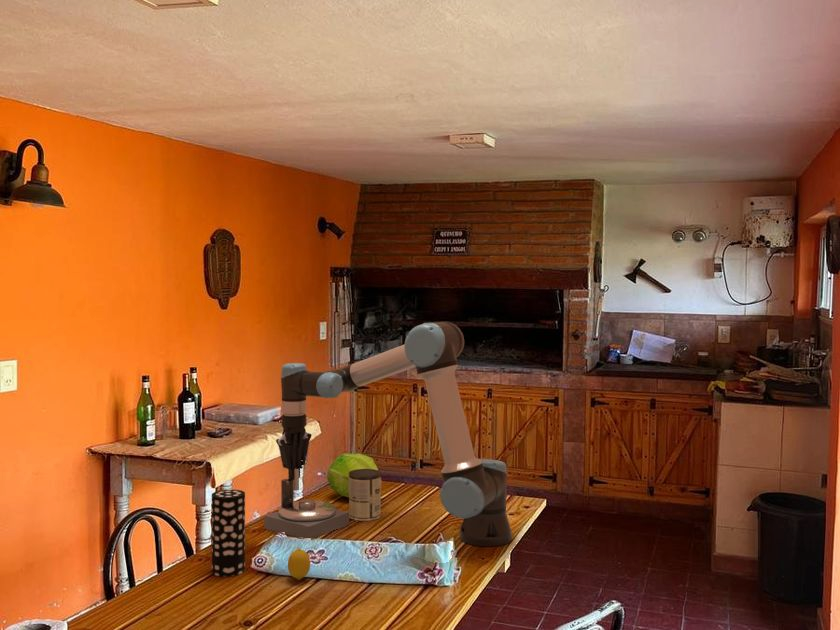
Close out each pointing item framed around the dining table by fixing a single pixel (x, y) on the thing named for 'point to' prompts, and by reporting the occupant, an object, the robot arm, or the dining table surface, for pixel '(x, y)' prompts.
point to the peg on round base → (302, 506)
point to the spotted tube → (228, 532)
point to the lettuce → (347, 470)
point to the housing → (306, 524)
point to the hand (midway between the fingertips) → (294, 489)
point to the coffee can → (364, 494)
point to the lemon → (298, 564)
